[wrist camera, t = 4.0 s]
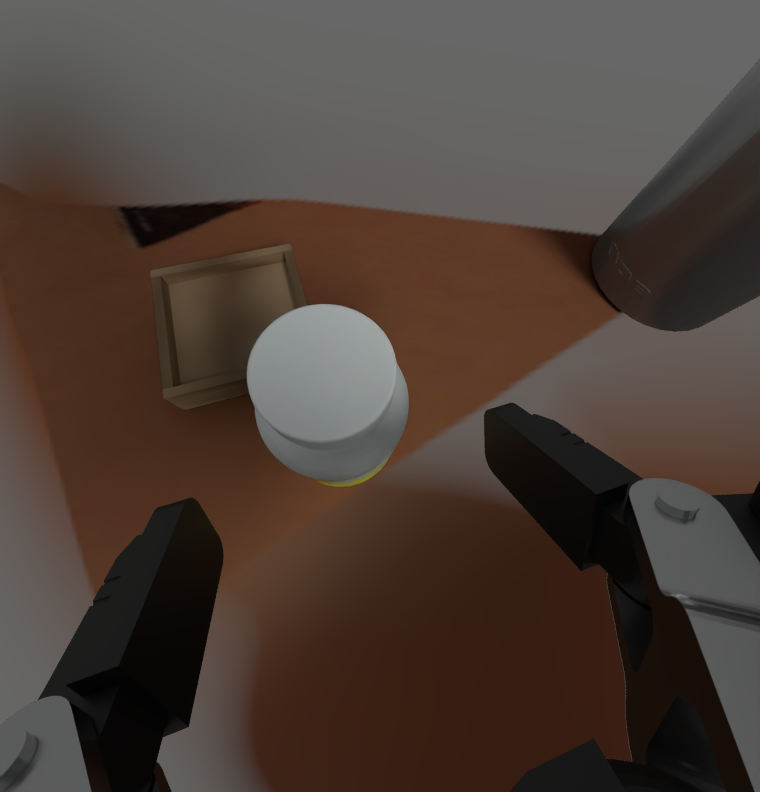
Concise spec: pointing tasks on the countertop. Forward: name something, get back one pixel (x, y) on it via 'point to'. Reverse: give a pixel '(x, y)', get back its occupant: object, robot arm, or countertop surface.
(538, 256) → the countertop surface
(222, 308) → the wooden tray
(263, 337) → the supplement bottle
